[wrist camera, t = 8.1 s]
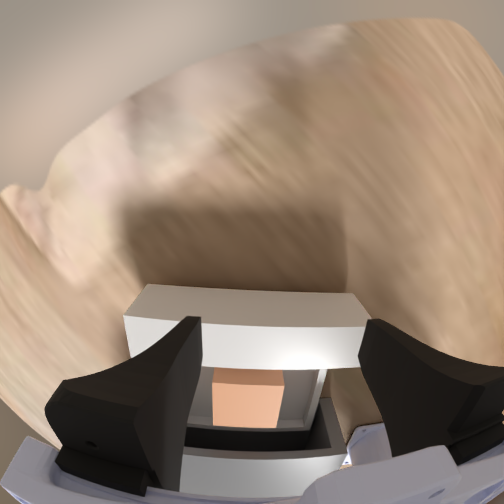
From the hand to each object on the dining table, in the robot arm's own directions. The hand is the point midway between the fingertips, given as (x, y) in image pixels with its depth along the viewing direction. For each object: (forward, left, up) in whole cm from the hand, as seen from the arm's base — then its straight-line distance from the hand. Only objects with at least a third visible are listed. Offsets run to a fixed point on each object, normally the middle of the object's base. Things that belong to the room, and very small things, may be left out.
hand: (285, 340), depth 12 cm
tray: (+1, +8, -8) cm, 11 cm away
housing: (+1, +21, -9) cm, 22 cm away
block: (+1, +8, -7) cm, 11 cm away
